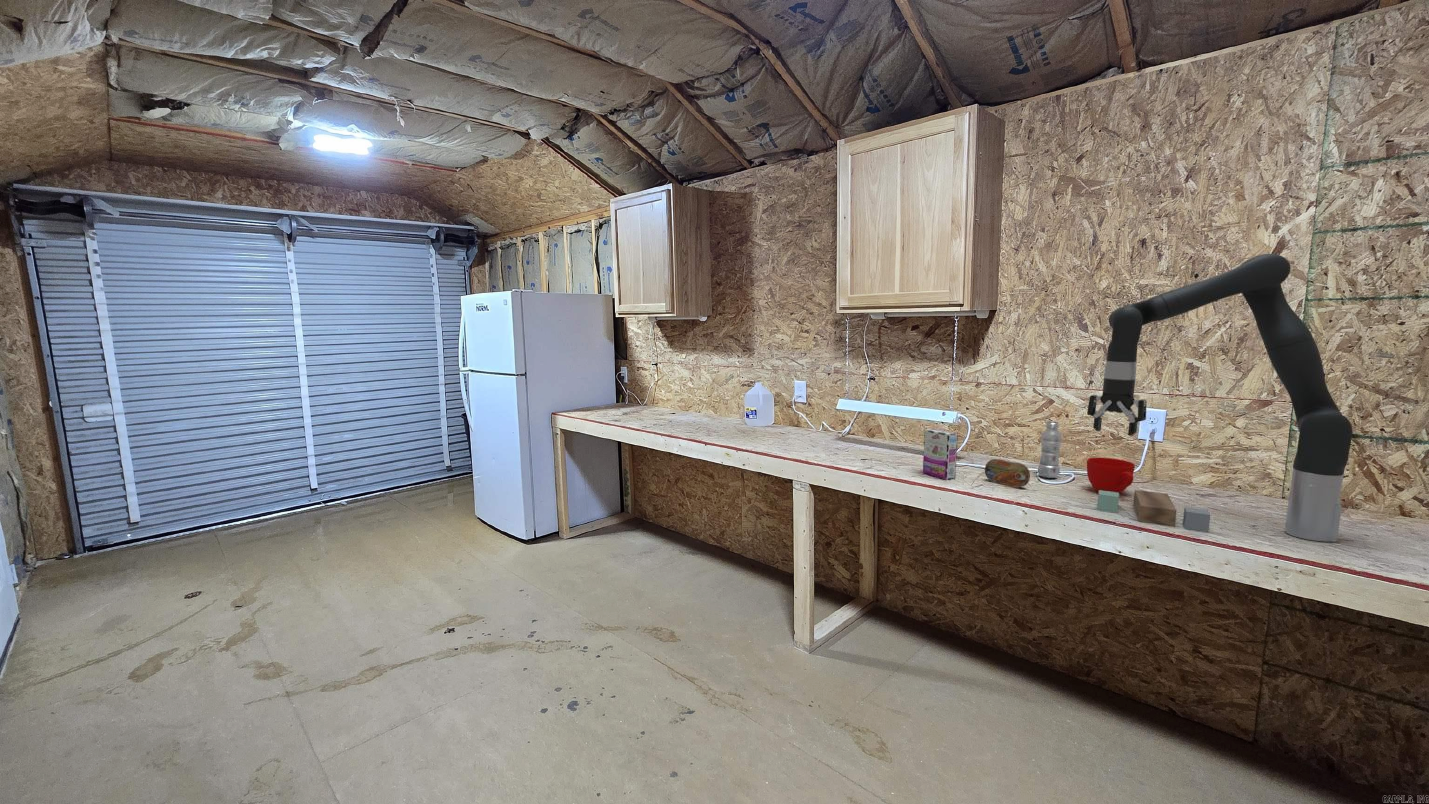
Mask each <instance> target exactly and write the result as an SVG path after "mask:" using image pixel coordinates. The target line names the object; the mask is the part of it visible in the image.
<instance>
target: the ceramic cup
mask: <svg viewBox="0 0 1429 804" xmlns="http://www.w3.org/2000/svg"><path fill="white" fill-rule="evenodd" d="M1135 466H1136V465H1135V463H1133V462H1131V461H1128V460H1124V459H1118V458H1111V457H1091V458H1087V459H1086V473H1087V478H1088V481H1089V483H1090V485H1091V486H1092V488H1093V489H1094V490H1095V491H1096V492H1097V493H1099V490H1102V491H1109V492H1117V493H1119V495H1120V494H1121V493H1123V492H1124V491H1125V490H1126V489H1127V488H1128V487H1130V486H1131V485H1132V484H1133V482H1134V471H1135V469H1136V468H1135Z"/></svg>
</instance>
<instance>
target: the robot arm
mask: <svg viewBox="0 0 1429 804" xmlns="http://www.w3.org/2000/svg"><path fill="white" fill-rule="evenodd" d="M1290 273H1291V264H1290V262H1289V260H1288V259H1286V258H1285V257H1284V256H1282V255H1280V254H1277V253H1262V254H1259V255H1256V256H1254V257H1251V258H1250V259H1247V260H1245V261H1244V262H1243V263H1241V264H1240V265H1239V266H1237V267H1235V268H1233V269H1230V270H1228V271H1225V272H1224V273H1221V274H1218V275H1216V276H1213V277H1210V278H1206V279H1203V280H1201V281H1197V282H1194V283H1190V284H1187V285H1184V286H1181V287H1180V286H1179V287H1178V288H1174V289H1172V290H1168V291H1166V292H1162V293H1160V294H1157V295H1155V296H1152V297H1151V298H1148V299H1145V300H1141V301H1138V302H1134V303H1131V304H1127V305H1125V306H1122V307H1118V308H1116V309H1115V310H1114V311H1112V312H1111V314H1110V315H1109V317H1108V325H1109V326H1110V327H1111V328H1112V332H1111V341H1110V342H1109V344H1108V347H1107V353H1106V362H1105V367H1104V372H1103V384H1102V395H1097V394H1092V395H1090V396H1089V398H1088V405H1087V413H1086V414H1087V415H1088V416H1091V417H1093V425H1092V426H1093V429H1095V431H1096V432H1100V431H1101V430H1102V423H1103V418H1102V416H1103V415H1104V414H1106V413H1107V412H1108V413H1117V414H1122V413H1123V414H1124V416H1125V417H1127V418H1128V420H1129V423H1128V434H1127V435H1128V436H1134V434H1136V433H1137V430H1138V423H1139V422H1144V421H1146V419H1147V400H1146V399H1145V398H1144V399H1135V397H1134V396H1135V385H1136V377H1137V357H1138V345H1139V341H1140V336H1141V334H1142V329H1143V326H1145V325H1148V324H1150V323H1153V322H1160V321H1164V320H1167V319H1171V318H1175V317H1176V316H1179V315H1183V314H1185V313H1188V312H1191V311H1194V310H1196V309H1199V308H1201V307H1203V306H1207V305H1209V304H1212V303H1214V302H1217V301H1220V300H1222V299H1225V298H1228V297H1232V296H1236V295H1239V294H1242V296H1243V298H1244V300H1245V301H1246V304H1247V305H1248V306H1249V308H1250V310H1251V312H1252V314H1253V317H1254V320H1255V324H1256V326H1257V329H1258V332H1259V334H1260V337H1261V340H1262V343H1263V345H1264V347H1265V351H1266V354H1267V356H1268V359H1269V361H1270V363H1271V365H1272V367H1273V369H1274V371H1275V373H1276V374H1277V377H1278V378H1279V380H1280V382H1281V383H1282V385H1283V387H1284V388H1285V390H1286V392H1287V394H1288V396H1289V398H1290V401H1291V404H1292V408H1293V410H1294V417H1295V418H1296V419H1295V420H1296V426H1297V429H1298V432H1299V433H1298V442H1297V448H1296V454H1295V456H1294V459H1293V465H1292V467H1293V468H1292V475H1291V480H1290V481H1291V482H1290V488H1289V489H1290V490H1289V496H1288V503H1287V510H1286V518H1285V522H1284V532H1285V533H1286V534H1288V535H1290V536H1292V537H1293V536H1294V537H1296V538H1299V539H1304V540H1307V541H1308V540H1309V541H1316V542H1327V543H1328V542H1330V543H1331V542H1333V543H1338V542H1337V541H1338V536H1339V531H1340V522H1341V515H1342V510H1343V506H1342V504H1341V494H1342V487H1343V481H1344V475H1345V469H1346V465H1348V461H1349V456H1350V449H1351V444H1352V437H1353V426H1352V423H1351V421H1350V420H1349V418H1347V417H1346V416H1345V415H1343V413H1342V412H1341V411H1340V409H1339V407H1338V406H1337V404H1336V403H1335V401H1334V399H1333V396H1332V395H1331V393H1330V391H1329V389H1328V386H1327V384H1326V383H1327V382H1326V378H1325V372H1324V365H1323V360H1322V356H1321V353H1320V351H1319V349H1318V346H1317V343H1316V341H1315V339H1314V337H1313V334H1312V333H1311V330H1310V329H1309V328H1308V326H1307V325H1306V323H1305V322H1304V321H1303V320H1302V319H1301V318H1300V316H1299V315H1297V313H1296V312H1295V311H1294V310H1293V309H1292V307H1291V306H1290V304H1289V302H1288V301H1287V299H1286V296H1285V293H1284V290H1283V288H1282V285H1281V284H1283V283H1284V282H1285V281H1286V279H1288V278H1289V276H1290ZM1099 402H1101V403H1102V406H1101V407H1099V408H1098V410H1097V411H1096V409H1097V403H1099ZM1133 405H1135V406H1136V408H1137V415H1136V414H1135V411H1134V410H1133V408H1132V407H1133Z"/></svg>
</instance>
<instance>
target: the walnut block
mask: <svg viewBox="0 0 1429 804" xmlns="http://www.w3.org/2000/svg"><path fill="white" fill-rule="evenodd" d="M1132 505H1133V508H1134V511H1135V514H1136V517H1137V520H1138V522H1139V523H1145V524H1150V525H1152V524H1153V525H1159V526H1164V527H1165V526H1166V527H1173V528H1175V526H1176V518H1177V508H1176V506H1175V505H1174V503H1173V501H1172V499H1171V497H1170V496H1169V494H1168V493H1162V492H1155V491H1146V490H1138V489H1134V497H1133V504H1132Z"/></svg>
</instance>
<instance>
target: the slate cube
mask: <svg viewBox="0 0 1429 804" xmlns="http://www.w3.org/2000/svg"><path fill="white" fill-rule="evenodd" d="M1183 509H1184V510H1183V518H1182V519H1183V520H1182V526H1183V528H1184V530H1188V531H1193V532H1200V533H1201V532H1202V533H1209V531H1210V530H1209V529H1210V521H1211V513H1210V511H1209V509H1204V508H1197V507H1196V508H1195V507H1191V506H1184V508H1183Z"/></svg>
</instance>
